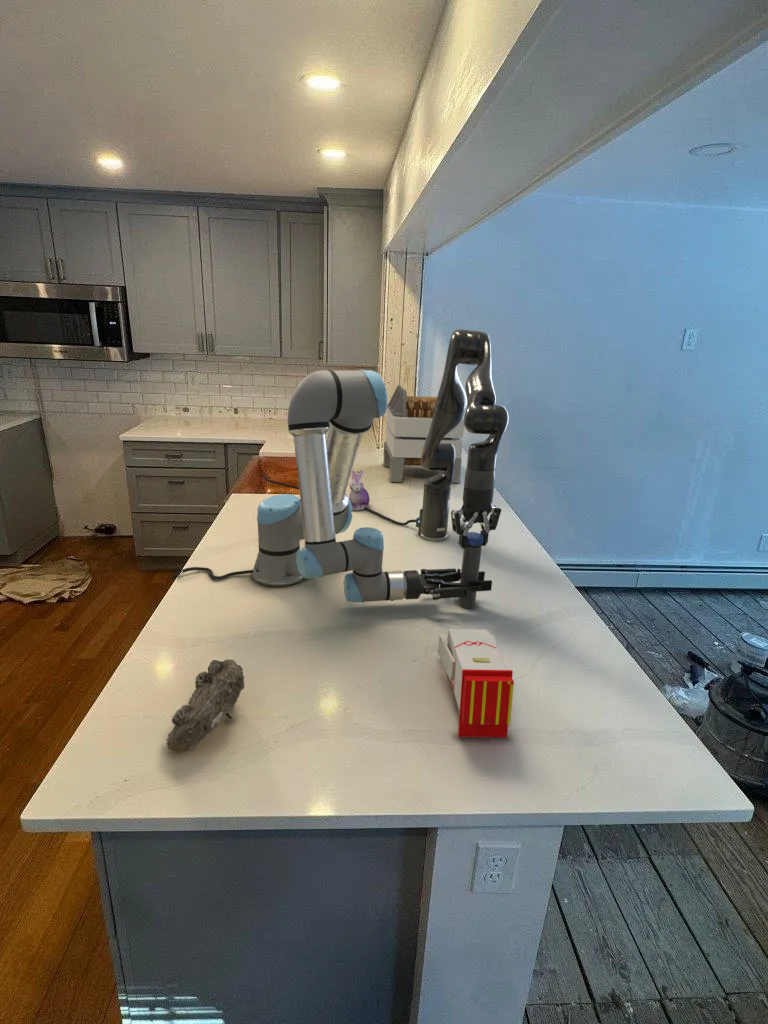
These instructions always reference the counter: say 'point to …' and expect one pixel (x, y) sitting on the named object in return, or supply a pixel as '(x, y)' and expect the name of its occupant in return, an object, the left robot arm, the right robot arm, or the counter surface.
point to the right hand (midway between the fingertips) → (472, 546)
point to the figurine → (358, 492)
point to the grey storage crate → (414, 433)
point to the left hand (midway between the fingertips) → (487, 580)
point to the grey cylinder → (470, 572)
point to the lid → (474, 538)
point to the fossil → (206, 705)
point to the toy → (478, 682)
